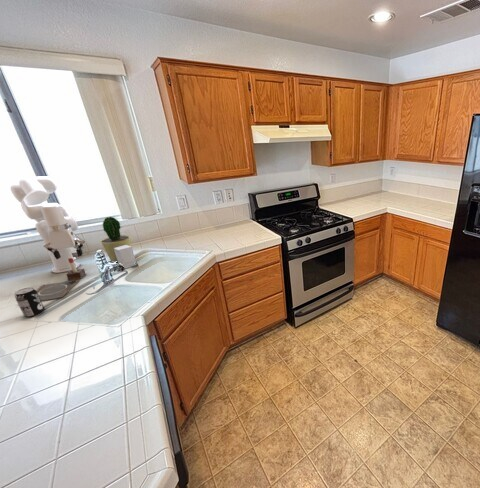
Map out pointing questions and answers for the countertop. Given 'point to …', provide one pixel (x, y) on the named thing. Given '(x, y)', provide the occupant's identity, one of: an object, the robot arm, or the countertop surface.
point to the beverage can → (29, 302)
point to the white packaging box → (125, 256)
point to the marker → (72, 264)
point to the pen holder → (76, 274)
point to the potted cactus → (113, 237)
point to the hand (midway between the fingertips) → (69, 256)
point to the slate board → (55, 290)
